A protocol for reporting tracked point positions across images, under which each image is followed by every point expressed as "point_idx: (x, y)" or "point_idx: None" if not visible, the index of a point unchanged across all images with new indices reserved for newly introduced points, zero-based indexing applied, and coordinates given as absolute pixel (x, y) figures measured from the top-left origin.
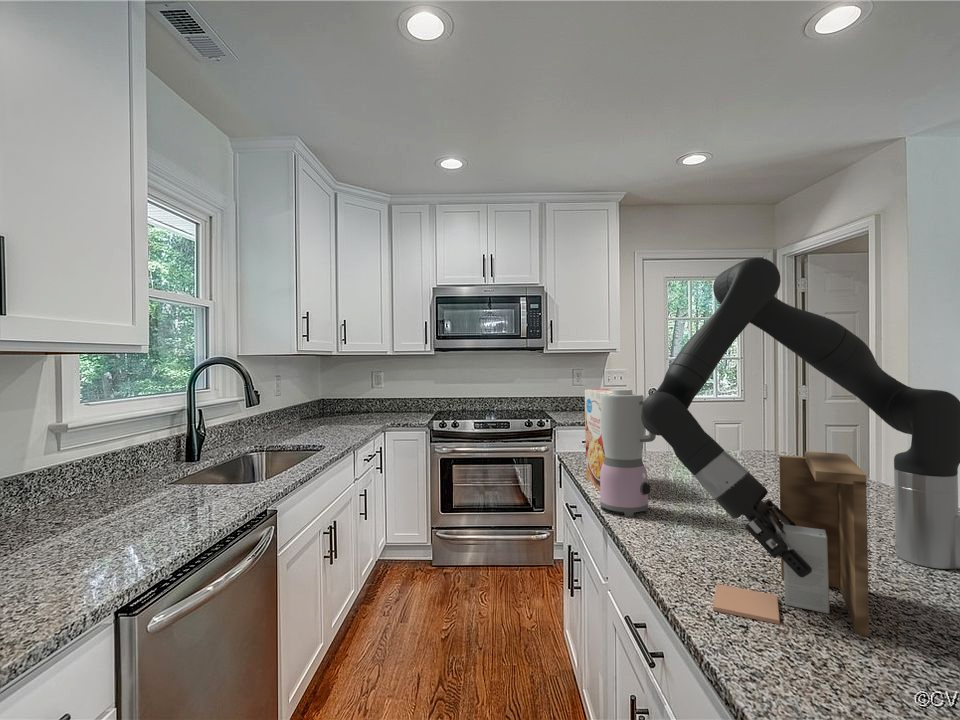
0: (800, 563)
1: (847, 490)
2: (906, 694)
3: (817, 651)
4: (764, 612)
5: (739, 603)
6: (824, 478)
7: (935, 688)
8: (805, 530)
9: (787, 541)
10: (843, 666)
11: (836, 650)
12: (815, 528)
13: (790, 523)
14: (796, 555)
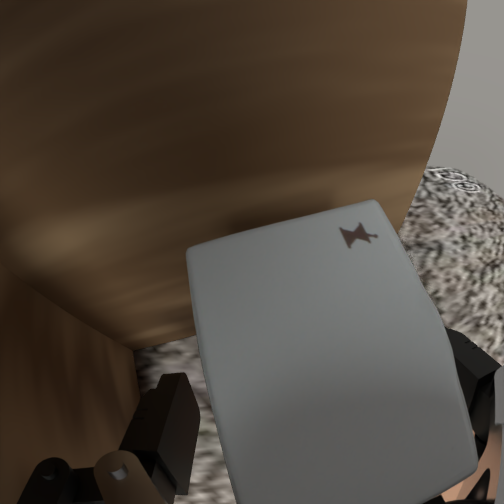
0: (472, 342)
1: None
2: (476, 198)
3: (490, 302)
4: None
5: (448, 491)
6: None
7: (434, 177)
8: (342, 353)
9: (496, 406)
10: (492, 262)
11: (464, 283)
12: (15, 364)
13: (66, 490)
14: (476, 359)
